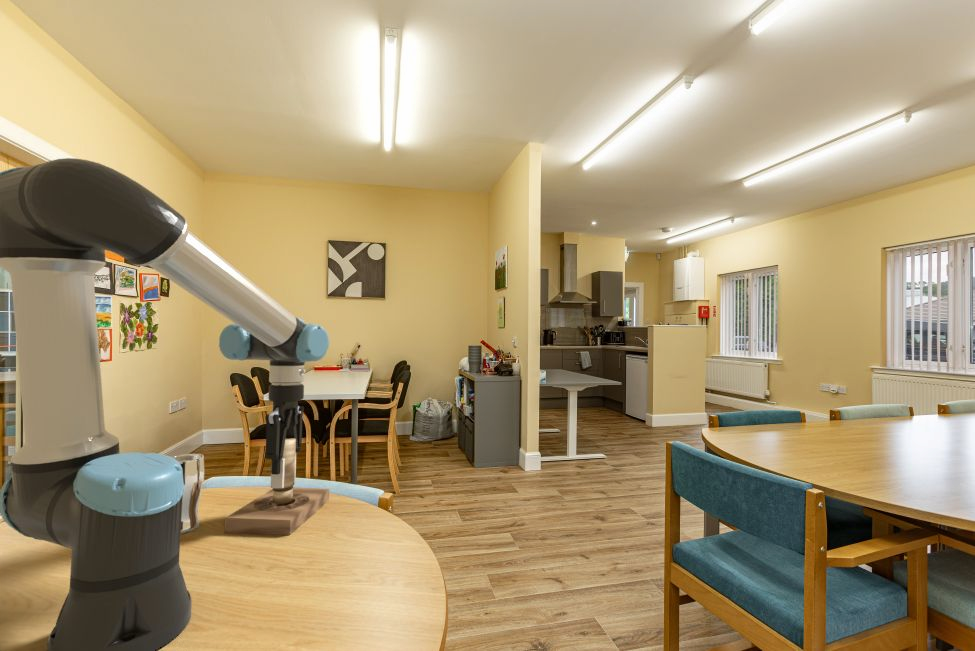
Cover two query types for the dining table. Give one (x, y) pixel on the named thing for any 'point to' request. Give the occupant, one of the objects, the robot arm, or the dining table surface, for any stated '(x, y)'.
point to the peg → (287, 474)
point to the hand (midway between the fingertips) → (283, 483)
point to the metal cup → (191, 489)
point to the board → (277, 513)
